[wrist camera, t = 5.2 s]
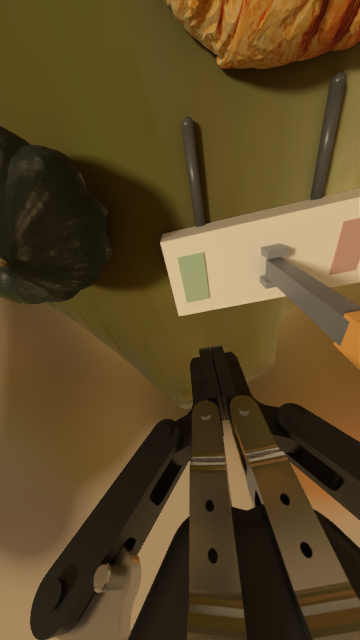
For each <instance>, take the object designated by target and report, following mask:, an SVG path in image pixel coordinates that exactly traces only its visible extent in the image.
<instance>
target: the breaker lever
mask: <svg viewBox="0 0 360 640" xmlns="http://www.w3.org/2000/svg"><path fill="white" fill-rule="evenodd" d="M265 276H266V277H267V278H268V279H269V280H270V281H271V282H272V283H273V284H274V285H275V286H276V287H277V288H279V289H280V290H281V291H282V292H283V293H284V294H285V295H286V296H287V297H288V298H289V299H290V300H291V301H292V302H293V303H294V304H296V305H297V306H298V307H299V308H300V309H301V310H302V311H303V312H304V313H305V314H306V315H307V316H308V317H310V319H311V320H313V321H314V322H315V323H316V324H317V325H318V326H319V327H320V328H321V329H322V330H323V331H324V332H325V333H326V334H327V335H328V336H330V337H331V338H332V339H333V340H334V345H335V347H337V348H338V349H339V350H340V351H341V352H342V353H343V354H344V355H345V356H346V357H347V358H348V359H349V360H350V361H351V362H352V363H353V364H354V365H355V366H356V367H357V368H358V369H359V370H360V306H358V305H357V304H355V303H354V302H352V301H350V300H349V299H347V298H346V297H344V296H342V295H341V294H339V293H338V292H336V291H334V290H333V289H331V288H330V287H328V286H326V285H325V284H323V283H322V282H320V281H318V280H317V279H315V278H314V277H312V276H310V275H309V274H307V273H306V272H304V271H302V270H301V269H299V268H298V267H296V266H294V265H293V264H291V263H290V262H288V261H287V260H285V259H283V258H282V257H278V258H273V259H266V273H265Z"/></svg>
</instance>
